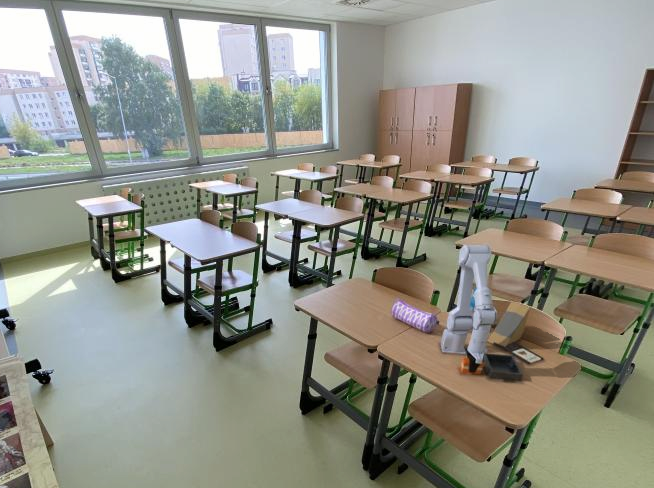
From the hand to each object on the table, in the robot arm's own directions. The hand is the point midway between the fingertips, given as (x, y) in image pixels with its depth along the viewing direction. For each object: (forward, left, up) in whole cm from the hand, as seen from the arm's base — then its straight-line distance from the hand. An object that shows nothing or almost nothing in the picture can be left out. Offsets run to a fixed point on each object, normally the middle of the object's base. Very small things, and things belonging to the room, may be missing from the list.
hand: (470, 369), depth 153 cm
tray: (+12, +3, -1) cm, 12 cm away
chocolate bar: (+22, +19, -2) cm, 29 cm away
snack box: (0, 0, -1) cm, 1 cm away
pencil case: (-20, +37, -2) cm, 42 cm away
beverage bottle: (+7, +38, -2) cm, 39 cm away
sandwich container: (+19, +29, -1) cm, 35 cm away
